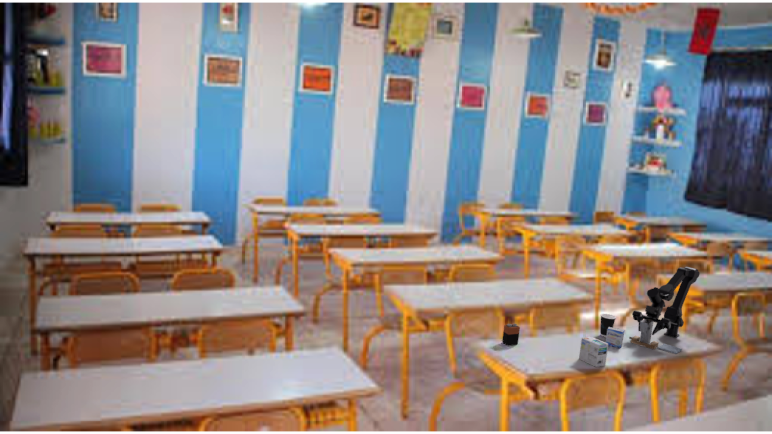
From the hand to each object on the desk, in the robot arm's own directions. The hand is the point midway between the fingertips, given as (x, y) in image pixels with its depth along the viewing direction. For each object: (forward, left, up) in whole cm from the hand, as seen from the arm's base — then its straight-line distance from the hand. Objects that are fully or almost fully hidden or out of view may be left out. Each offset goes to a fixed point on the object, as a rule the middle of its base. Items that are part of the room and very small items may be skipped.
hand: (645, 332), depth 337 cm
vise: (-1, -1, -7) cm, 7 cm away
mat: (-5, +11, -7) cm, 14 cm away
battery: (+59, -45, -7) cm, 74 cm away
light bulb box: (+48, -7, -7) cm, 49 cm away
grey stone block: (+1, 0, -7) cm, 7 cm away
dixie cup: (+4, -19, -7) cm, 21 cm away
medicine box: (+15, -10, -7) cm, 19 cm away
